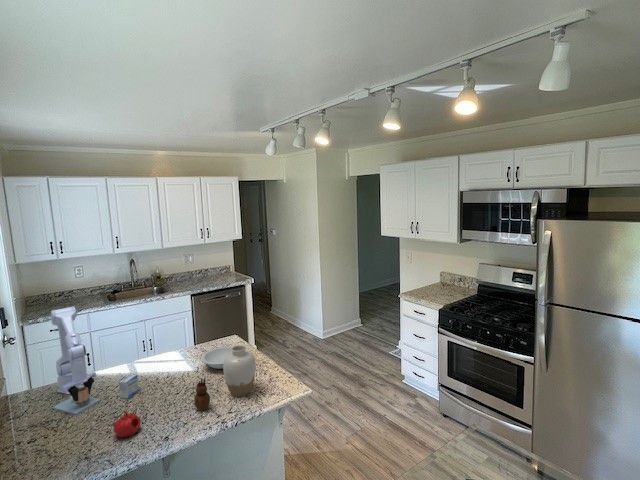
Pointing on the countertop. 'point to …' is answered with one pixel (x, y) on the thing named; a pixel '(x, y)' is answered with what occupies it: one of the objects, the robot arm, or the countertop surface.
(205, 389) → the wooden figurine
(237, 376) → the vase
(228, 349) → the soup bowl
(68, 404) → the pin board
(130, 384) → the medicine box
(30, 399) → the countertop surface
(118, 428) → the pomegranate
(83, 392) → the sleeve
